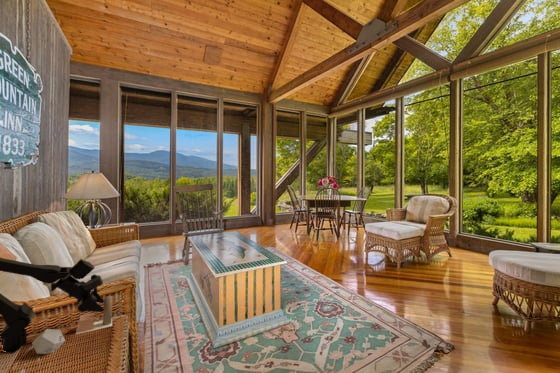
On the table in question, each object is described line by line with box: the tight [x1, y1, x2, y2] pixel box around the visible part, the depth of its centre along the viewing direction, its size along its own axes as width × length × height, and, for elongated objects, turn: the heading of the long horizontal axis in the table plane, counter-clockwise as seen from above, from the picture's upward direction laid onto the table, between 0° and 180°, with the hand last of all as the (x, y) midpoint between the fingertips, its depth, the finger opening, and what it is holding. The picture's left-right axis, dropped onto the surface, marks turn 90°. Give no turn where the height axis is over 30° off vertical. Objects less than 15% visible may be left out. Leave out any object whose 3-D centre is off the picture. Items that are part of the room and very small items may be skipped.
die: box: [31, 328, 66, 355], centre depth 95 cm, size 8×9×10 cm
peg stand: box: [75, 295, 114, 335], centre depth 111 cm, size 13×7×13 cm, turn 126°
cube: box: [78, 312, 95, 332], centre depth 110 cm, size 5×5×5 cm
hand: (103, 306), depth 113 cm, fingers open, 9 cm apart
